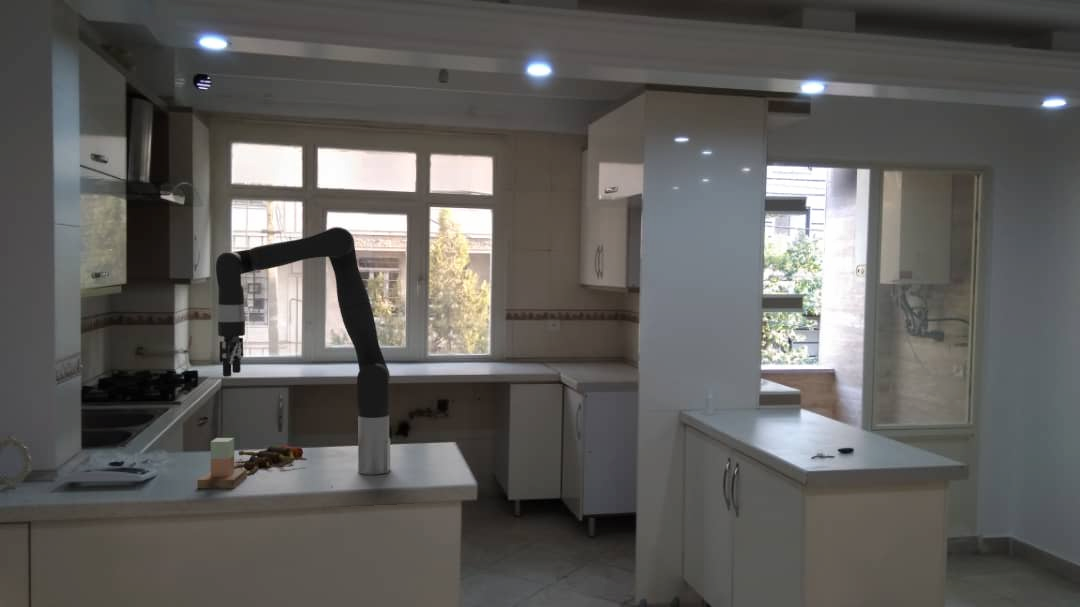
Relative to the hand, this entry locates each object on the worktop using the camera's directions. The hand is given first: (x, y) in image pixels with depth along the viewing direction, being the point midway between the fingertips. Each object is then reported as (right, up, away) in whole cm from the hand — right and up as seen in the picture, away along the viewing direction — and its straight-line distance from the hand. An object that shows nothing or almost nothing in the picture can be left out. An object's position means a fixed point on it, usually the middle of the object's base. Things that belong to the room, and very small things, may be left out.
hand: (231, 374), depth 249 cm
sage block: (0, -23, -8) cm, 24 cm away
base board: (0, -31, -7) cm, 31 cm away
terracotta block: (0, -28, -8) cm, 29 cm away
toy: (+5, -30, +14) cm, 34 cm away
